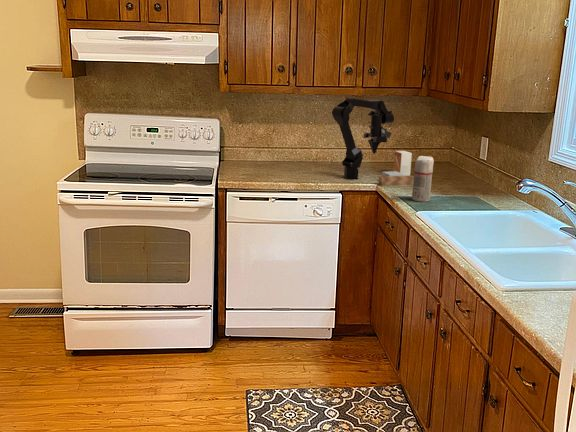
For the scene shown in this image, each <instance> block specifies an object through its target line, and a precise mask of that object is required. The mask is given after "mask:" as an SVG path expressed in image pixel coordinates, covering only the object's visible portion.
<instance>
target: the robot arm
mask: <svg viewBox="0 0 576 432" xmlns="http://www.w3.org/2000/svg"><path fill="white" fill-rule="evenodd" d="M354 107H360V108H366V109H367V110H369V111H370V112H369V113H368V114H367V115H368V116H370V125H368V127H369V128H370V129H369V131H370V132H364V134H363V139H367V138H368V139H367V142H368V144H369V146H370V149H371V152H372V154H374V155H375V154H376V153H377V149H378V147H379V145H380V144H381V143H388V139H390V138H391V135H392V132H390V131H389V130H387V129H386V128H384V126H382V124H383V125H385V124H386V125H387V124H392V123H393V122H394V121H395V117H394V116H395V115H394V114H393V111H392V110H388V109H387V106H386V104H385V101H384V100H379V99H368V100H366V99H359V98H354V97H347V98H345V100H343V101H342V102H340V103H339V104H337V105H336V106H334V107H333V108H332V110H331V116H332V118H333V119H334V121H335V122H336V123H337V124H338V126H339V129H340V132H341V135H342V138H343V142H344V145H345V147H346V151H345V157H344V159H343V160H342V162H341V164H342V166H343V167H344V170H343V176H342V178H343V179H345V180H359V168H360V167H361V166H362V161H363V158H364V154H363V151H362V149H361V148H360V147H357V146H356V143H355V140H354V136H353V133H352V129H351V126H350V122H349V121H350V114H351V113H352V112H353V110H354Z"/></svg>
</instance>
